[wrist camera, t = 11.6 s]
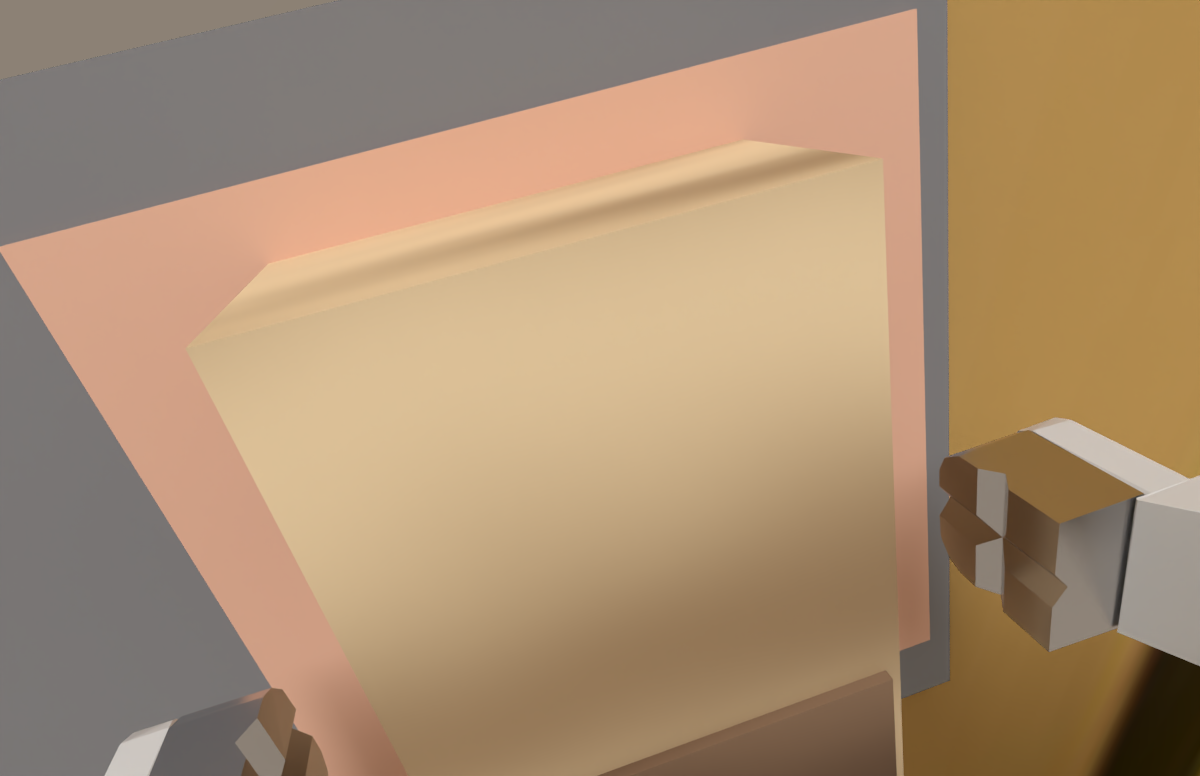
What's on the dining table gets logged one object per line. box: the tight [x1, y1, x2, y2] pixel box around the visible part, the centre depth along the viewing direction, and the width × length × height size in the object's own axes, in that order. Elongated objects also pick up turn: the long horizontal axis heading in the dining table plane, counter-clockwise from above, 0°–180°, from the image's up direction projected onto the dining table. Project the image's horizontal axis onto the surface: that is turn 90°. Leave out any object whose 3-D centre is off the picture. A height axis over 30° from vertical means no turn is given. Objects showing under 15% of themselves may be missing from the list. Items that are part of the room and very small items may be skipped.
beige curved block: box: [185, 139, 904, 776], centre depth 9 cm, size 9×6×3 cm, turn 13°
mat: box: [0, 0, 950, 776], centre depth 10 cm, size 24×14×1 cm, turn 104°
